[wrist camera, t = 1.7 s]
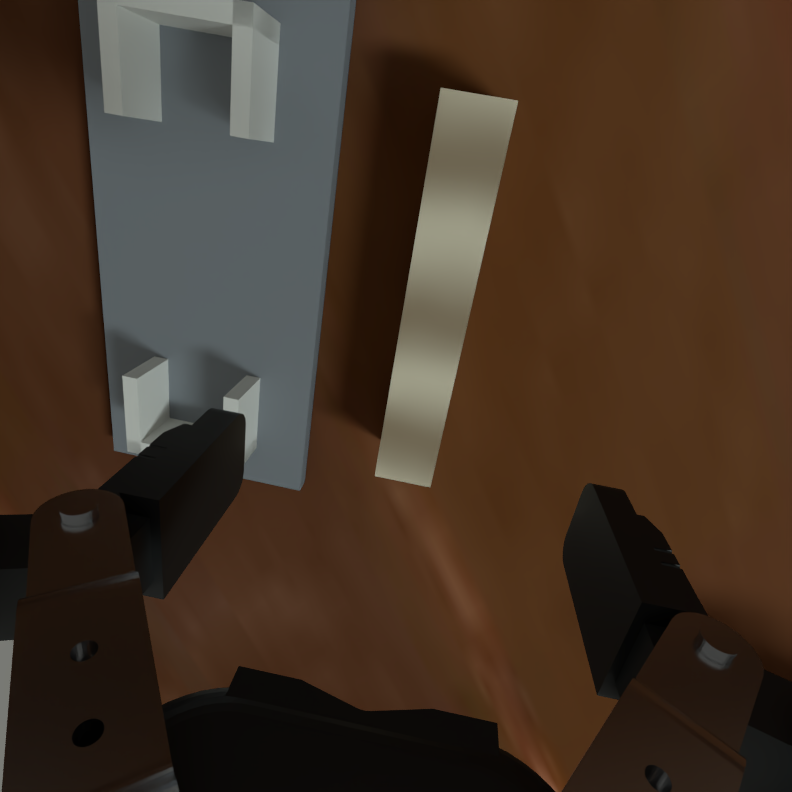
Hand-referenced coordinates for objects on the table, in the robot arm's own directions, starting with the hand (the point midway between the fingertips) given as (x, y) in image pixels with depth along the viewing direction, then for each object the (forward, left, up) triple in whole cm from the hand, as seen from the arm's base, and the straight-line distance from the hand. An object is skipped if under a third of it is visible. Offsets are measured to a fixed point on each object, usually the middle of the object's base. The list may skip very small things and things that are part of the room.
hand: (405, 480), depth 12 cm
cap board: (0, -12, -16) cm, 20 cm away
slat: (0, 0, -17) cm, 17 cm away
